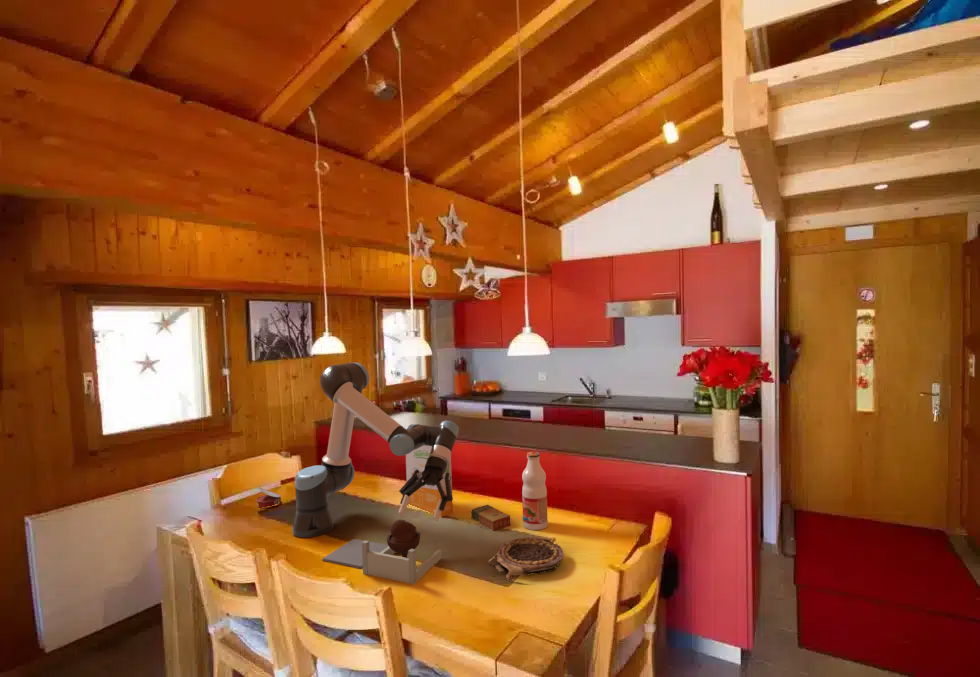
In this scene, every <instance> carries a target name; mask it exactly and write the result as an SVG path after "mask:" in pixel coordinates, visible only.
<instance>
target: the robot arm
mask: <svg viewBox="0 0 980 677" xmlns="http://www.w3.org/2000/svg"><path fill="white" fill-rule="evenodd" d="M369 383H370V374H369V371H368V369H367V368H366V366H364V365H363V364H361V363H360V362H347V363H339V364H331V365H329V366H327V367H326V368H325V369H324V370H323V371H322V373H321V375H320V378H319V385H320V389H321V390H322V392H323V394H325V396H326V397H327V398H328V399H329V400H330V401H331V402H333V403H334V404H333V411H332V417H331V418H332V419H331V423H330V424H331V425H330V430H329V431H330V432H329V437H328V443H327V444H328V445H327V451H326V454H325V455H323V457H322V458H321V465H320V464H319V465H312V466H308V467H305V468H302V469H301V470H299V471H298V472H296V475H295V483H294V488H295V504H296V505H295V507H296V512H295V517H294V520H293V521H294V522H293V524H292V527H291V529H292V531H291V532H292V535H293V534H294V535H293V536H294V537H299V538H313V537H314V538H315V537H318V536H322V535H324V534H327V533H329V532H330V531H332V530H333V529H334V525H335V524H334V521H335V520H334V519H333V517H332V514H331V511H330V508H329V496H331V495H333V494H335V493H337V492H339V491H342V490H344V489H346V488H347V487H348V486H349V485H350V484H351V483H352V482H353V480H354V478H355V473H356V472H355V467H354V466H353V463H352V458H350V456H349V455H350V449H351V448H350V446H351V441H352V434H353V427H354V422H355V417H356V418H357V419H359V420H360V421H361V422H363V423H364V424H365V425H366V426H368V428H370V429H371V430H372V431H374V433H376V434H377V435H379V436H380V437H381V438H383V439H384V440H385V441H386V442H387V443H389V449H390V451H391V452H392V454H394V455H395V456H399V457H401V456H402V457H403V456H406V454H409V453H410V452H412V451H413V450H415V449H418V448H420V447H422V446H424V445H425V446H432V448H431V451H430V454H429V458H428V459H427V462H426V464H425V469H424V471H423V472H421V471H419V470H418V469H417V470H416V471H415V473H414V475H413V476H412V477H411V478H410V479H409V480H408V481H407V480H406V482H405V483H404V485H403V486H402V487H401V488H400V489H399V493H400V494H401V495H402V497H401V499H400V502H399V504H400V506H399V509H398V512H397V513H398V514H399V515H400V516H401V517H404V516H405V513H406V511H407V507H408V506H409V505H408V503H409V500H410V498H409V496H410V495H412V494H413V493H414V492H415V491H417V490H418V489H419V488H420V487H422V486H424V485H432V486H435V485H436V486H437V488H438V490H439V493H440V495H441V498H442V499H439V501H438V504H437V507H436V510H435V513H434V515H433V516H432V518H433V519H434V520H435V521H436V522H438V521H439V520H440V519H439V518H441V517H440V514H441V511H443V510H444V508H445V505H446V502H447V501H452V502H453V499H454V498H453V489H452V490H451V483H450V481H451V475H450V474H449V473H448V472H447V473H446V474H444V473H445V470H446V467H447V463H448V461H449V458H450V455H451V456H452V452H453V449H454V446H455V444H456V440H457V439H458V434H459V432H460V431H459V429H460V428H459V426H458V425H457V424H456V423H455V422H454V421H451V420H443V421H441V422H440V424H439V426H437V425H436V426H433V425H425V424H424V425H423V424H420V423H419V424H418V423H416V424H414V423H413V424H409V425H408V427H406V428H405V427H404V426H403V425H401V424H400V423H399V422H397V421H396V420H395V419H394V418H392V417H391V416H390V415H389V414H388V413H386V412H385V411H383V410H382V409H381V408H380V407H379V406H377V405H376V404H375V403H373V401H371V400H370V399H369V398H367V397H366V396H365V395H363V390H364V389H365V388H367V386H368V385H369ZM421 476H422V477H421ZM420 477H421V478H420ZM443 478H444V479H445V486H446V493H447V496H446V495H445V493H444V490H443V488H442V485H441V483H440V481H441V480H442V479H443ZM417 480H418V481H417ZM416 481H417V482H416ZM422 481H424V482H422Z"/></svg>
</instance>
